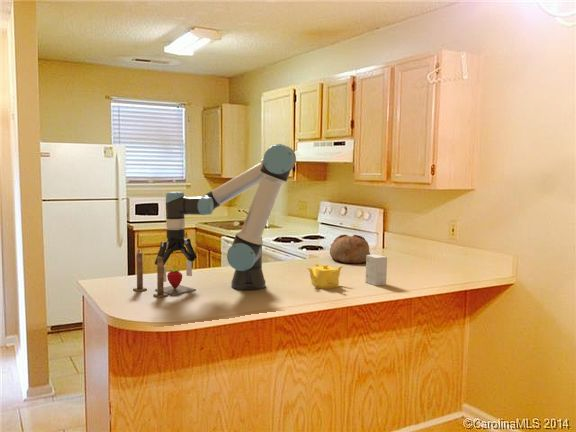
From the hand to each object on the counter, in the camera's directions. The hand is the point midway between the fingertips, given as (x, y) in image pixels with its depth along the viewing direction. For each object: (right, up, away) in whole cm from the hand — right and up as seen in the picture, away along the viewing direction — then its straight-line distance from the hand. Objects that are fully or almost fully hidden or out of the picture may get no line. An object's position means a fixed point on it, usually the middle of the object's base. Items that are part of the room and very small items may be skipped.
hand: (176, 278), depth 212 cm
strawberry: (-1, -5, +1) cm, 5 cm away
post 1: (-16, -5, 0) cm, 16 cm away
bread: (+83, 0, +80) cm, 116 cm away
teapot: (+64, -5, +15) cm, 66 cm away
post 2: (-5, -6, -9) cm, 12 cm away
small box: (+88, -5, +22) cm, 91 cm away
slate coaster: (-1, -5, +1) cm, 5 cm away
